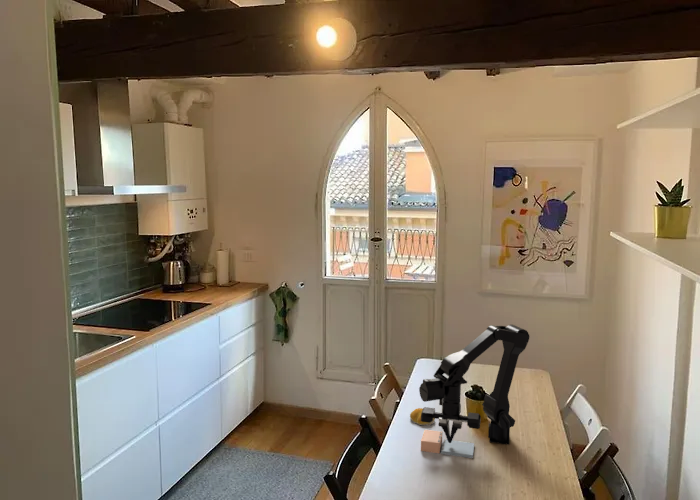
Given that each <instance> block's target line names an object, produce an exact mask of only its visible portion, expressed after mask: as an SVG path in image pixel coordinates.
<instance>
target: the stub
mask: <svg viewBox="0 0 700 500" xmlns="http://www.w3.org/2000/svg"><path fill="white" fill-rule="evenodd" d="M442 445H443V431H439V430H430V429H424V431H423V434H422V436H421V440H420V452H427V453H431V454H432V453H433V454H441V449H442Z"/></svg>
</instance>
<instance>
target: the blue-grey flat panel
mask: <svg viewBox="0 0 700 500" xmlns="http://www.w3.org/2000/svg"><path fill="white" fill-rule="evenodd" d="M474 449H475V443H474V442H469V441H459V440H454V439H452V442H451V443H448V440H447V438H443V439H442V445H441V449H440V454H441V455H446V456H447V455H448V456H454V457H459V458H460V457H461V458H470V459H473V458H474Z"/></svg>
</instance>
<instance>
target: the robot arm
mask: <svg viewBox="0 0 700 500" xmlns="http://www.w3.org/2000/svg"><path fill="white" fill-rule="evenodd" d="M530 336H531V335H530V334H529V331H528V330H526V329H524V328H522V327H520V326H517V325H516V324H508V325H489V326H487V327H486V329H485V330H484V331H483V332H481V334H479V335H478V336H477V337H476V338H474V339H473V341H471V342H470V343H468V344H467V345H466V346H465V347H463V349H461V350H459V351H457V352H454V353H450V354H449V355H447V356H446V357H444V358H443V359H442V360H441V361H440V365H439V366H438V368H437V370H436V371H435V372H434V373H433V377H434V378H430V379H429V378H425V379H424V378H423V380H422V383H420V386H419V388H418V389H419V391H418V392H419V397H420V399H421V401H423V402H431V401H438V400H439V403H438V404H439V406H441V412H436V408H434V407H429V406H428V407H426V406H424V407H423V408H422V409H423V410H422V413H421V421H422V422H428V423H430V422H432V421H433V418H435V420H436V419H437V420H438V427H441V428H442V430H443V431H442V432H444V434H445V437H446V439H447V440H448V443H451V442H452V440H454V437H455V435H456V433H457V431H458V430H461V429H462V428H463V427H462V426H463V423H467V424H466V425H467V427H468V428H469V429H475V430H479V429H480V428H481V421H482V420H481V419H482V418H481V414H480V413H478V412H477V413H476V412H468V413H467V415H462V414H461V411H462V405H461V396H462V395H461V393H462V391H461V390H462V387H461V386H462V385H465V384H466V385H467V383H468V381H467V380H466V379H465V377H464V376H465V374H466V373H468V371H469V369H470V366H471V365H472V363H473V362H474V361H475V360H476V359H478V358H479V357H480V356H481V355H482V354H483V353H485V352H486V351H487V350H488V349H490V348H491V347H492V346H493V345H494V344H495V343H497V342H499V341H502V347H503V353H502V356H501V360H500V363H499V368H498V372H497V375H496V379H495V382H494V383H495V384H494V386H493V390H492V391H491V392H490V393H489V394H485V395H484V400H483V403H482V404H481V406H482V410H483V412H484V414H485V415H486V417H487V419H489V420H490V423H488V433H487V434H488V436H487V437H488V439H489V441H488V442H489V443H493V444H501V445H508V446H509V445H510V444H511V443H510V441H511V440H510V438H511V437H510V433H511V431H510V430H511V428H512V427H514V426H515V424H516V419H514V418H513V417H512V416H511V415H510V400H509V393H510V390H511V386H512V382H513V379H514V375H515V370H516V368H517V364H518V359H519V356H520V354H522V353H523V352H524V351H525V349H526V348H527V345H528V343H529V340H530V338H531V337H530ZM445 375H446V376H445ZM450 421H452V424H451V425H452V426H451V431H450Z"/></svg>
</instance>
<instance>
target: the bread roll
mask: <svg viewBox="0 0 700 500" xmlns="http://www.w3.org/2000/svg"><path fill="white" fill-rule="evenodd" d="M422 410H423V408H422V407H418V408H415V409H413V410H412V411H411V412H410V414H409V417H410V421H412V423H415V424H417V425H419V426H430V425H433V424H434V423H435V421H436V418H433V421H432V422H430V423H428V422H422V421H421V413H422Z"/></svg>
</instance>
